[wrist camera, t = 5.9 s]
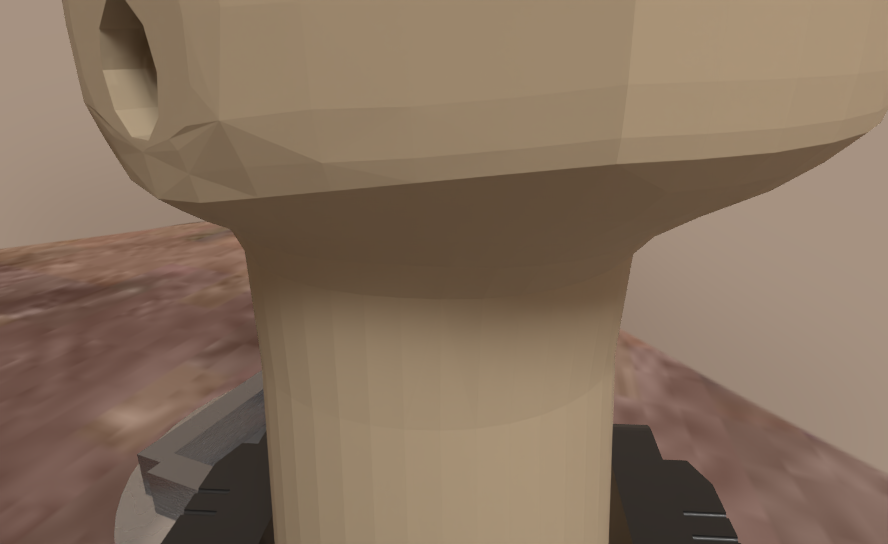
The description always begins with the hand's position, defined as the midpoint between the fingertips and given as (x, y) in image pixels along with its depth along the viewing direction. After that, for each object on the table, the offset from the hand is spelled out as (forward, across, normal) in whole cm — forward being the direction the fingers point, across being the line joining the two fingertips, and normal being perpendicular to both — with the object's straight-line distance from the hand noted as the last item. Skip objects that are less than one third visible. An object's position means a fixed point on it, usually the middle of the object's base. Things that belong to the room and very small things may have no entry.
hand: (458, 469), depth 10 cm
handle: (-3, 0, +8) cm, 9 cm away
